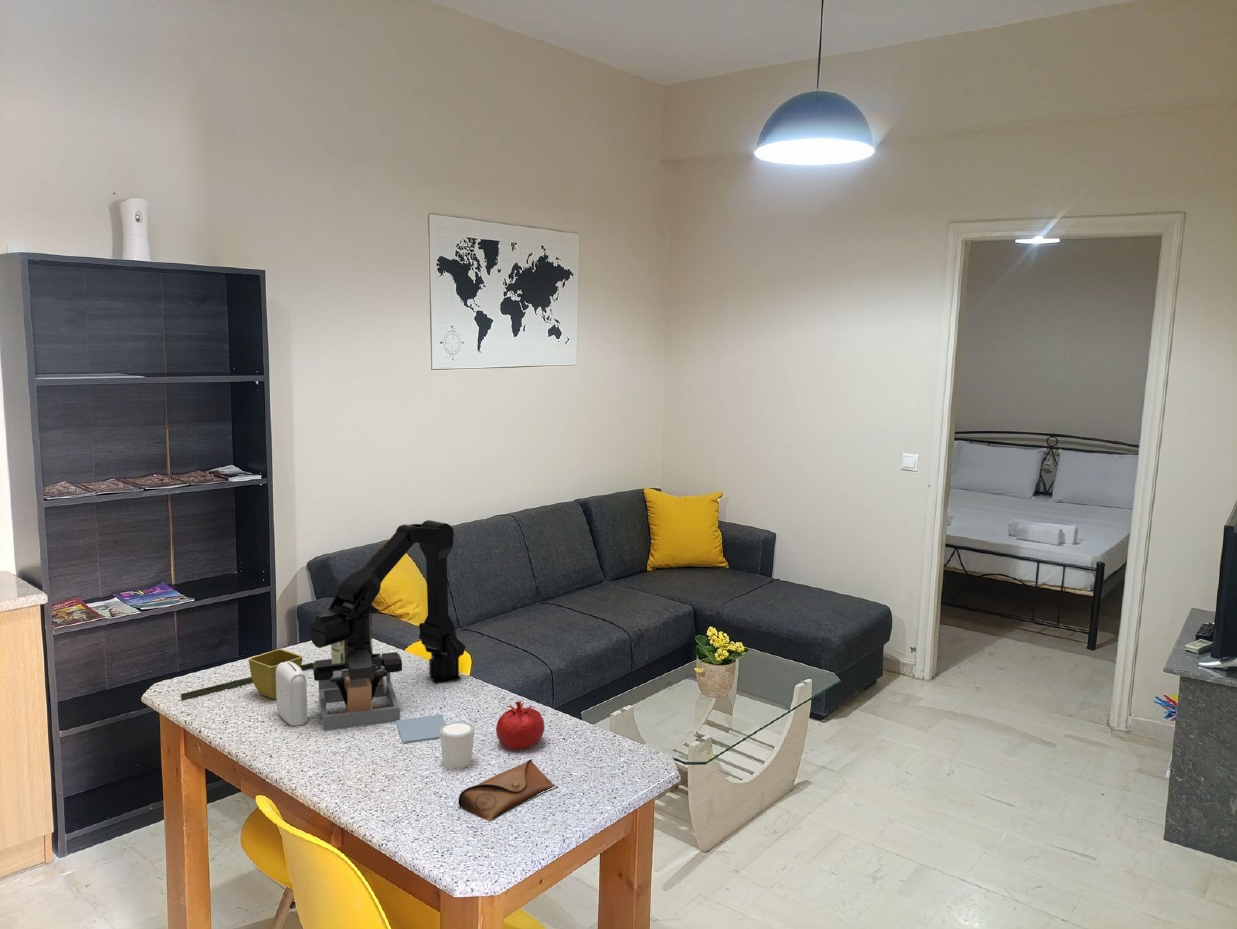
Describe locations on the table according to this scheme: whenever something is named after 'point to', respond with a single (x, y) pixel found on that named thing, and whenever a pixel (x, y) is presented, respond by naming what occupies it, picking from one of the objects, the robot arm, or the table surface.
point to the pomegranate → (520, 727)
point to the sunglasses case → (504, 791)
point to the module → (358, 694)
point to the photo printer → (291, 693)
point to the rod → (227, 685)
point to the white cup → (457, 744)
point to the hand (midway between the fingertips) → (358, 702)
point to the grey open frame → (357, 718)
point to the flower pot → (270, 669)
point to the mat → (420, 728)
